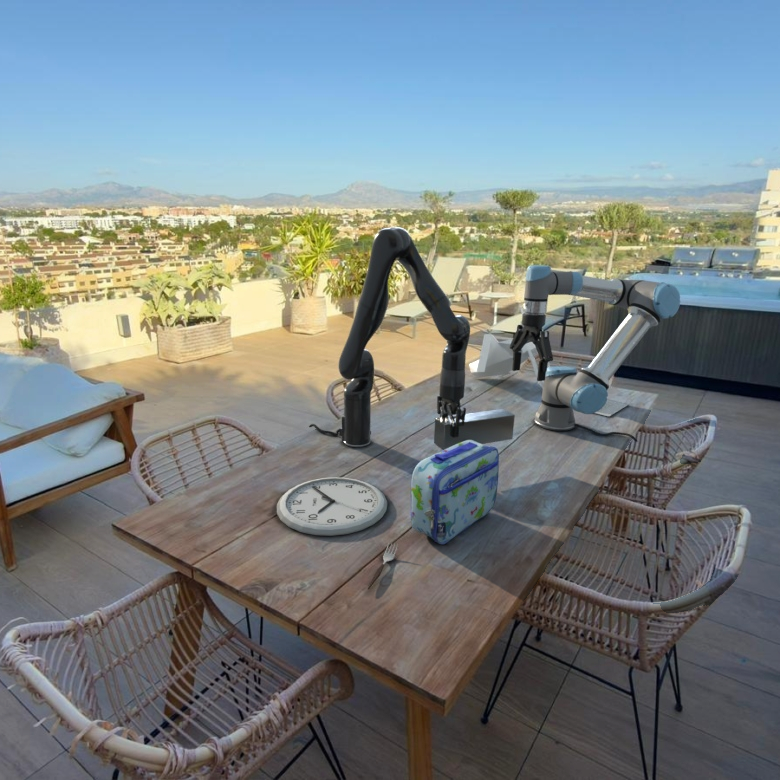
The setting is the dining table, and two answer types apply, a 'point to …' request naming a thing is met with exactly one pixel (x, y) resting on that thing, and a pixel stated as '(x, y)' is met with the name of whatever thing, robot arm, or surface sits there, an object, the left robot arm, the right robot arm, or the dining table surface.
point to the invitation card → (611, 408)
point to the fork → (386, 558)
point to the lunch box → (453, 489)
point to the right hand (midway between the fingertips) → (528, 375)
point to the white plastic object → (501, 357)
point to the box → (476, 428)
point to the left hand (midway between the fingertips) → (449, 432)
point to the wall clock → (331, 506)
